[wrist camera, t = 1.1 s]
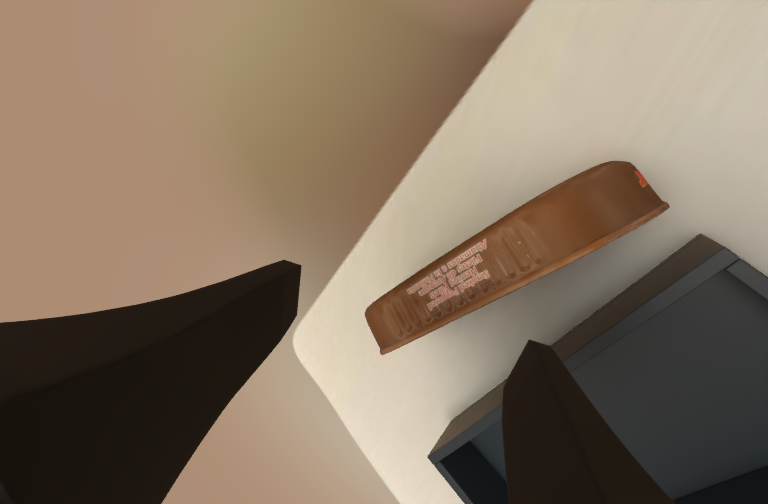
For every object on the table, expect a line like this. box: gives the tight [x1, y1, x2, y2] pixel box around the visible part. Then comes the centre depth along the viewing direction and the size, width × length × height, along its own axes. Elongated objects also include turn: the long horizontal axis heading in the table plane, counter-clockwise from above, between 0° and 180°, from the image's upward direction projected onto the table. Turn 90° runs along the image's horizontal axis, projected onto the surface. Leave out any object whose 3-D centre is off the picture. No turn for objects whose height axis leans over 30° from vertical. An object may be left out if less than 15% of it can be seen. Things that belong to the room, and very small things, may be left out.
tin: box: [365, 161, 670, 355], centre depth 17 cm, size 15×3×8 cm, turn 126°
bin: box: [428, 234, 768, 504], centre depth 17 cm, size 10×19×4 cm, turn 142°
